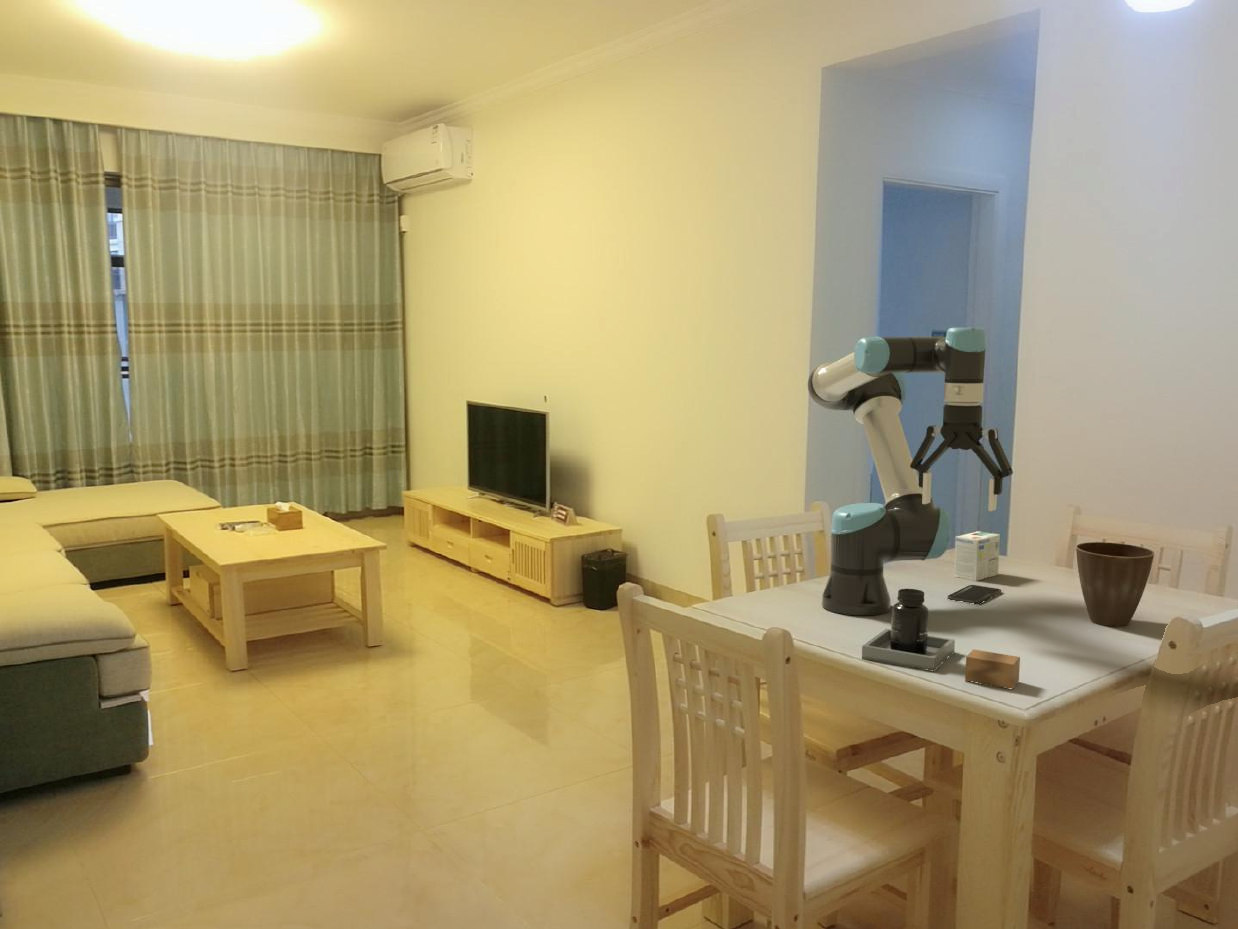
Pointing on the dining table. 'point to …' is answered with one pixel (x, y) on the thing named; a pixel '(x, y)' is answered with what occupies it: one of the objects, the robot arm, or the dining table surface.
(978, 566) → the light bulb box
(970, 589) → the phone
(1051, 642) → the dining table surface
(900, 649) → the supplement bottle
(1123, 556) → the plant pot
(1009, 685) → the block
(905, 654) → the tray
